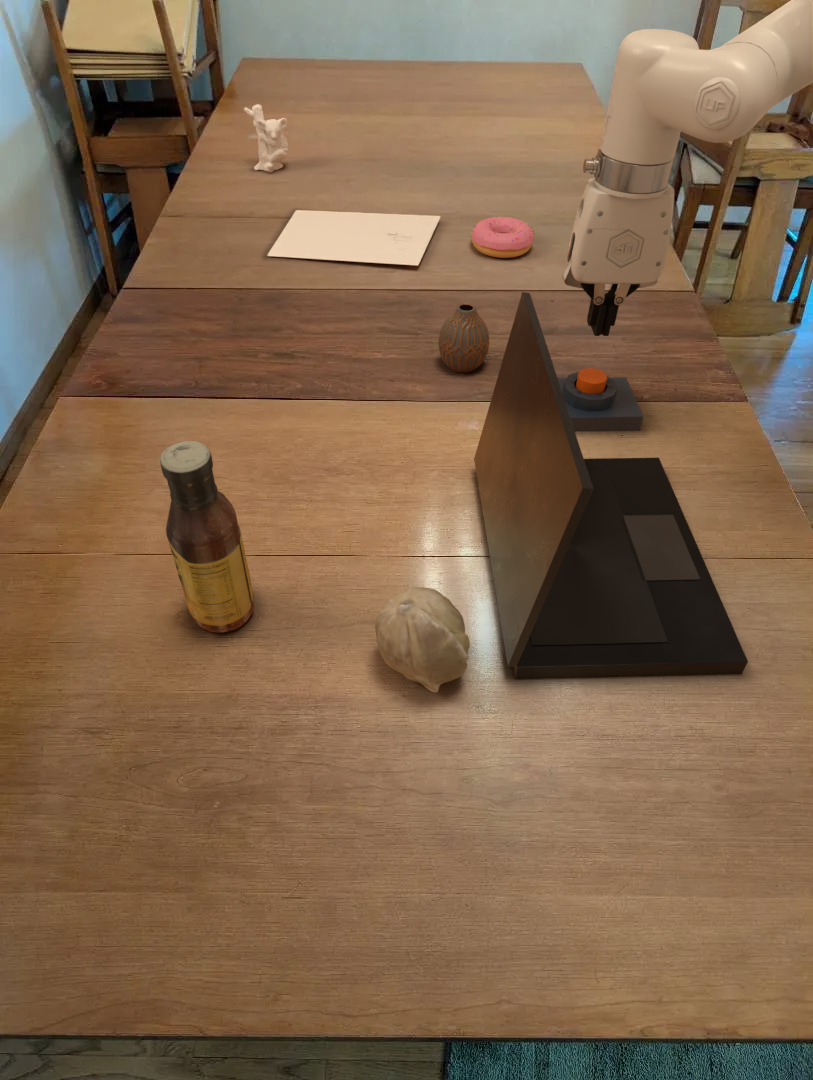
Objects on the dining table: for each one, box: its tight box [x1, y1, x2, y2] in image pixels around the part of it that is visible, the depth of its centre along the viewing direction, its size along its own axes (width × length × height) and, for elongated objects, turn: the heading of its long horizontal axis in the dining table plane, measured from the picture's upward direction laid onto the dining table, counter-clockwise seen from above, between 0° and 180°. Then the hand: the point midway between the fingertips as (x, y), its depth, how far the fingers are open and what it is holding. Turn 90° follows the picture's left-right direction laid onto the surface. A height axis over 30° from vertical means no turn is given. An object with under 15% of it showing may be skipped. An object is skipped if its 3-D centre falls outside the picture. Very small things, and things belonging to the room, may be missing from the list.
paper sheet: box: [266, 209, 442, 266], centre depth 141 cm, size 24×29×1 cm
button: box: [576, 367, 608, 394], centre depth 100 cm, size 4×4×2 cm
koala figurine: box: [243, 103, 289, 173], centre depth 161 cm, size 8×7×12 cm
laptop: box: [512, 457, 749, 680], centre depth 83 cm, size 21×30×2 cm
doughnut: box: [470, 215, 535, 259], centre depth 137 cm, size 11×11×4 cm
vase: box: [438, 302, 490, 373], centre depth 108 cm, size 7×7×9 cm
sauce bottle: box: [159, 440, 255, 633], centre depth 70 cm, size 6×6×20 cm
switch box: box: [557, 370, 644, 433], centre depth 102 cm, size 12×9×4 cm
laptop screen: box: [473, 291, 593, 668], centre depth 74 cm, size 21×30×1 cm
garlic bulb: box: [374, 586, 471, 693], centre depth 70 cm, size 9×8×10 cm
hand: (598, 330), depth 95 cm, fingers closed
